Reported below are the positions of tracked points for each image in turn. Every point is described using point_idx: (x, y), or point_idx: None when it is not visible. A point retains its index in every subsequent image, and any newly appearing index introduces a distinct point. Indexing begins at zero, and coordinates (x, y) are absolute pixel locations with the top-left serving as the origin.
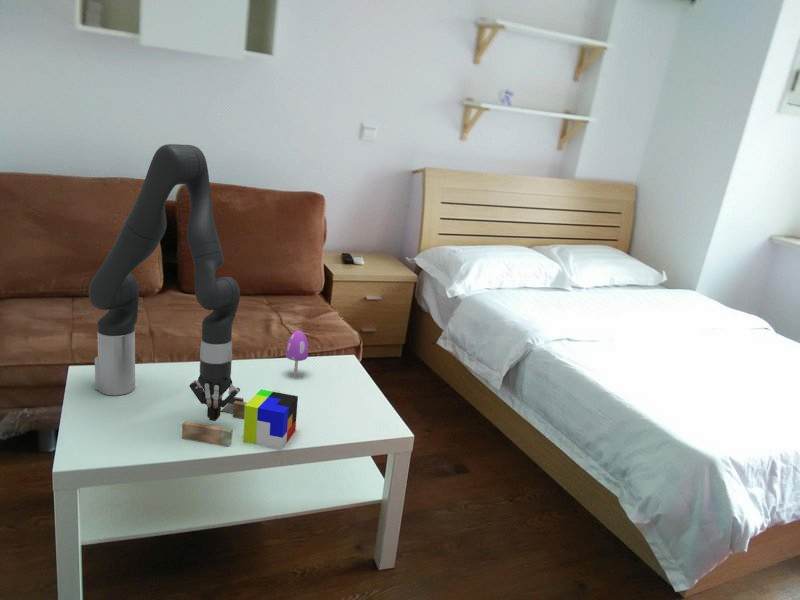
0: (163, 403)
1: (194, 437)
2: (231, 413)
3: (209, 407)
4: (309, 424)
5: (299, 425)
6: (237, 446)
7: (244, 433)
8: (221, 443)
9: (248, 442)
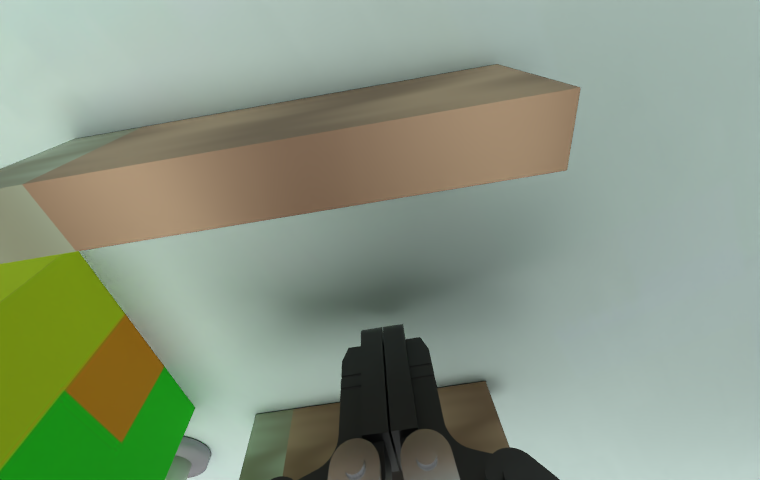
0: (737, 353)
1: (384, 88)
2: None
3: (425, 427)
4: None
5: None
6: None
7: (6, 293)
8: (129, 131)
9: None
